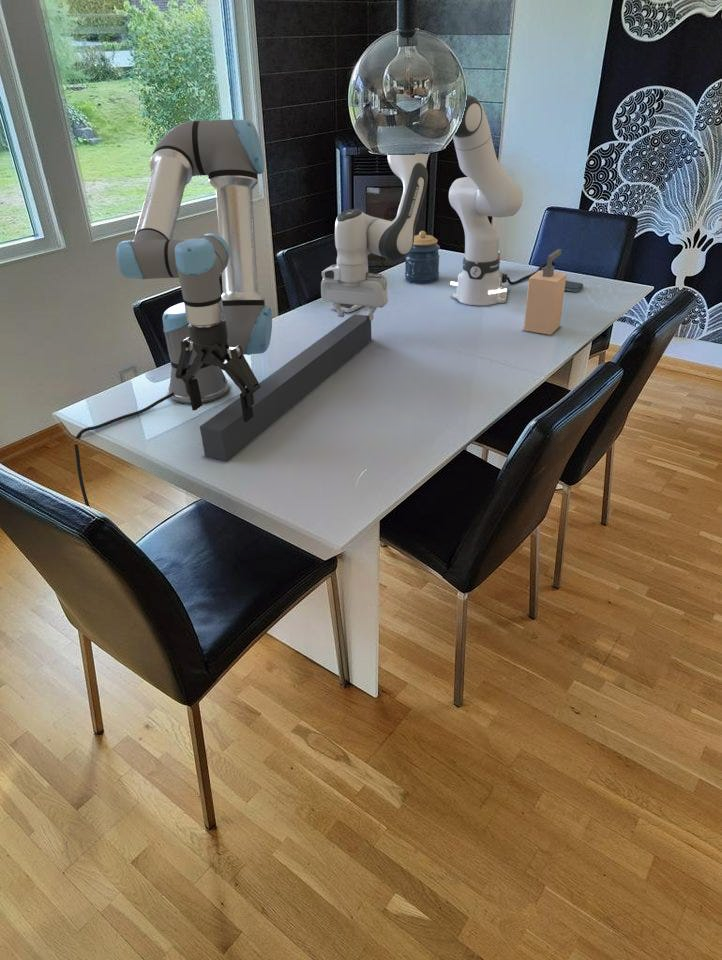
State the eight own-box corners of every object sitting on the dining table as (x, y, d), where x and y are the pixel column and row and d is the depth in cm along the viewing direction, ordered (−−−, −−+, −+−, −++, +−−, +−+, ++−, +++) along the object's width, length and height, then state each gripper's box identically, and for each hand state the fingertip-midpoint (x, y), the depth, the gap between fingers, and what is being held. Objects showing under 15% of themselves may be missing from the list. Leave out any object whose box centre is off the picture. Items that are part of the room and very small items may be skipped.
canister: (411, 285, 249) (411, 236, 239) (400, 276, 259) (400, 228, 250) (444, 281, 252) (445, 232, 242) (431, 272, 262) (432, 225, 253)
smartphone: (373, 297, 235) (349, 309, 225) (373, 300, 236) (349, 313, 226) (355, 294, 239) (330, 305, 229) (356, 297, 240) (331, 309, 229)
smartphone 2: (577, 289, 235) (536, 281, 242) (576, 293, 236) (535, 286, 243) (584, 283, 240) (544, 276, 247) (583, 287, 241) (543, 280, 248)
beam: (225, 461, 147) (220, 431, 143) (205, 456, 149) (199, 426, 145) (371, 340, 205) (370, 316, 201) (355, 337, 207) (354, 314, 203)
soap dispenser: (550, 335, 203) (559, 261, 191) (523, 330, 207) (530, 257, 195) (564, 322, 212) (573, 250, 200) (538, 317, 216) (545, 247, 204)
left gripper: (269, 322, 133) (280, 415, 146) (168, 307, 143) (187, 396, 155) (248, 336, 128) (261, 432, 140) (145, 319, 137) (166, 410, 149)
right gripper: (390, 271, 189) (392, 318, 196) (326, 265, 196) (330, 311, 204) (381, 277, 184) (383, 326, 192) (316, 271, 192) (320, 318, 199)
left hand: (222, 413), depth 147 cm, fingers open, 13 cm apart
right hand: (355, 318), depth 198 cm, fingers open, 8 cm apart
